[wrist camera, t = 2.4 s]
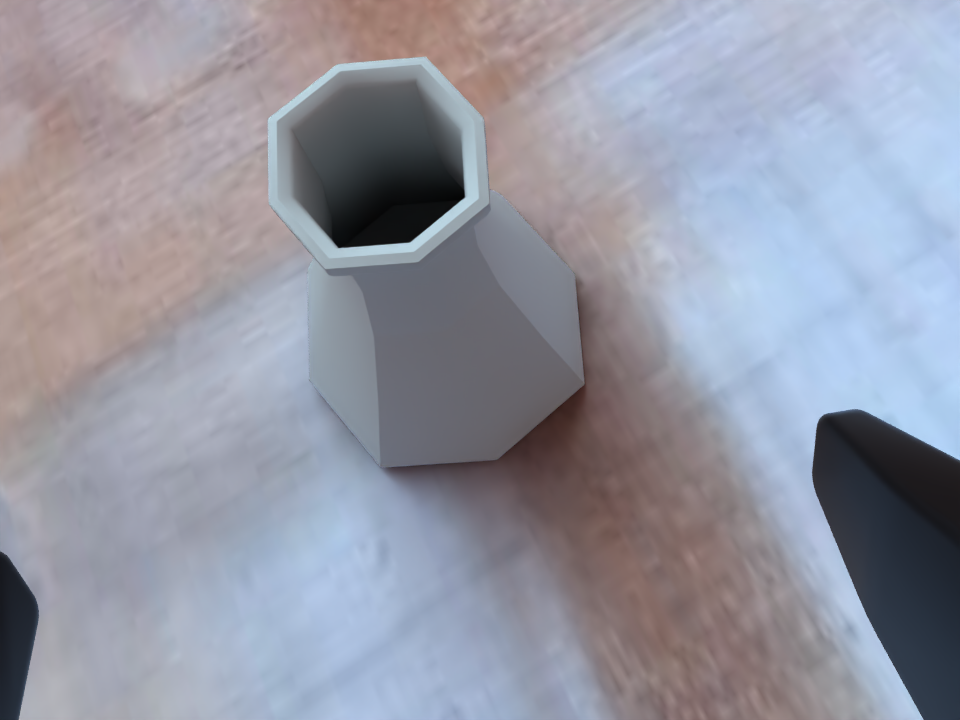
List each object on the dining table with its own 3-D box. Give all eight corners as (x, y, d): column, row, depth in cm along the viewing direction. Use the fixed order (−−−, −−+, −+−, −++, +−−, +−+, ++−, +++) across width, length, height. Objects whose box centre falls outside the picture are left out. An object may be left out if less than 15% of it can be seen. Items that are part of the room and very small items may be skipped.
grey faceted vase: (266, 258, 22) (57, 38, 12) (520, 156, 22) (517, -140, 12) (361, 517, 20) (211, 506, 11) (631, 405, 21) (731, 293, 11)
